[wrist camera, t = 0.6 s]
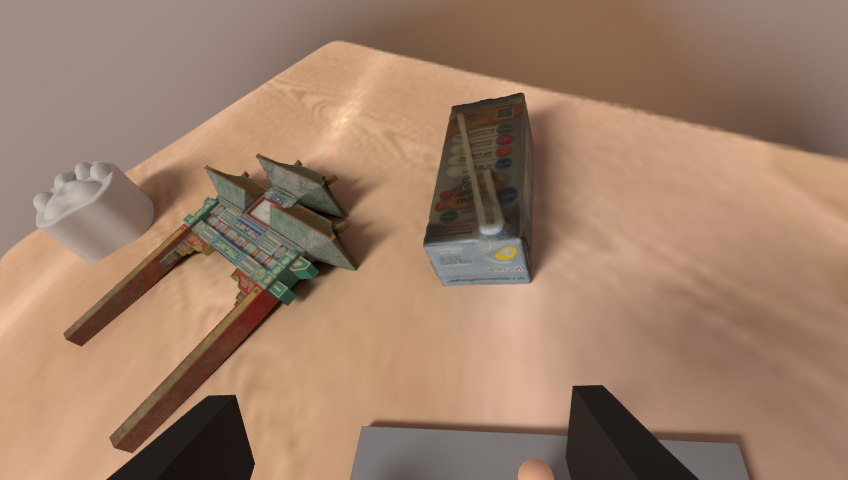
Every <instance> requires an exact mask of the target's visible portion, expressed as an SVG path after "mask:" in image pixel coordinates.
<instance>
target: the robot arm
mask: <svg viewBox="0 0 848 480" xmlns="http://www.w3.org/2000/svg"><path fill="white" fill-rule="evenodd" d="M565 458H566V462H567V466H568V470H569V474H570V478H571V480H699V479H698V478H697V477H696V476H695V475H694V474H693V473H692V472H691V471H690V470H689V469H688V468H687V467H685V466H684V465H683V464H682V463H681V462H680V461H679V460H678V459H677V458H676V457H675V456H674V455H673V454H672V453H671V452H670V451H668V450H667V449H666V448H665V447H664V446H663V445H662V444H661V443H660V442H659V441H658V440H657V439H656V438H655V437H654V436H653V435H652V434H651V433H650V432H649V431H648V430H647V429H646V428H645V427H644V426H643V425H642V424H641V423H640V422H639V421H638V420H637V419H636V418H635V417H634V416H633V415H632V414H631V413H630V412H629V411H628V410H627V409H626V408H625V407H624V406H623V405H622V404H621V403H620V402H619V401H618V400H617V399H616V398H615V397H614V396H613V395H612V394H611V393H610V392H609V391H608V390H607V389H606V388H605V387H604V386H603V385H588V386H573V390H572V399H571V409H570V419H569V428H568V438H567V448H566V457H565ZM254 465H255V462H254V459H253V455H252V452H251V448H250V444H249V441H248V437H247V434H246V430H245V427H244V423H243V420H242V416H241V412H240V409H239V405H238V402H237V398H236V395H214V396H207V397H206V398H204V399H203V400H202V401H201V402H199V403H198V404H197V405H195V406H194V407H193V408H192V409H191V410H189V411H188V412H187V413H186V414H184V415H183V416H182V417H181V418H180V419H178V420H177V421H176V422H175V423H174V424H173V425H171V426H170V427H169V428H168V429H167V430H165V431H164V432H163V433H162V434H161V435H159V436H158V437H157V438H156V439H155V440H154V441H152V442H151V443H150V444H149V445H148V446H146V447H145V448H144V449H143V450H142V451H140V452H139V453H138V454H137V455H135V456H134V457H133V458H132V459H131V460H129V461H128V462H127V463H126V464H125V465H123V466H122V467H121V468H120V469H119V470H117V471H116V472H115V473H114V474H113V475H111V476H110V477H109V478H108V479H106V480H250V479H251V475H252V472H253V469H254Z"/></svg>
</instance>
